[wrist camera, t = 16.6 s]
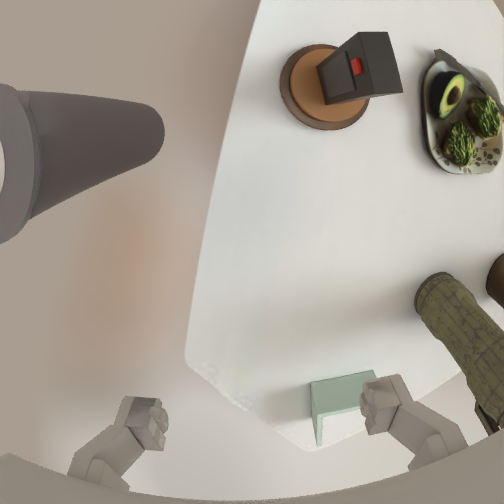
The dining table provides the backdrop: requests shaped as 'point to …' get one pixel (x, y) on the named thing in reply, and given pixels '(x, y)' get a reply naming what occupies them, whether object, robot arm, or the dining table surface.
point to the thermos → (467, 342)
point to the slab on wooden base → (345, 77)
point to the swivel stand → (293, 105)
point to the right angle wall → (336, 397)
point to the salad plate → (461, 117)
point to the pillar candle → (496, 281)
